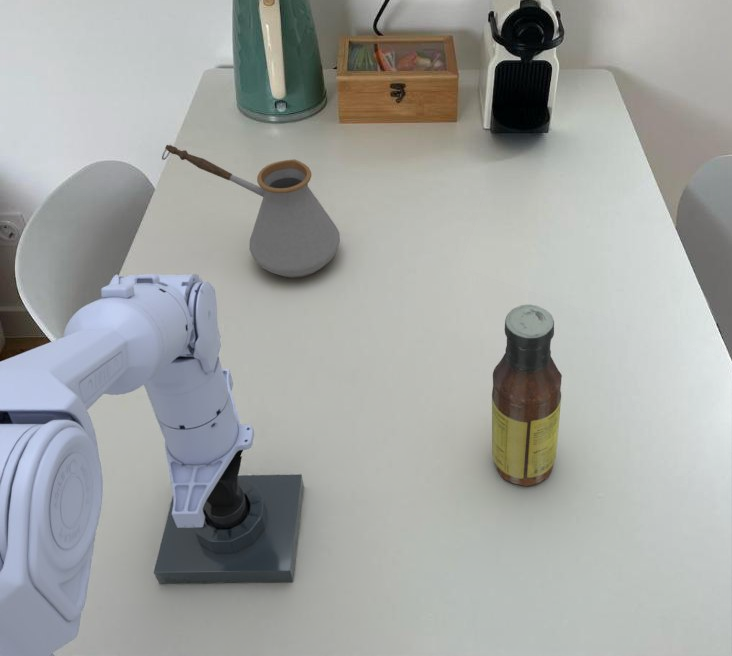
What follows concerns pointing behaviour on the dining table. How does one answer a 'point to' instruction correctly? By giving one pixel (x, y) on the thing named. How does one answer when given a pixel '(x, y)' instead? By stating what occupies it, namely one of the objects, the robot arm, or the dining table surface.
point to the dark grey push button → (228, 512)
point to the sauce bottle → (526, 399)
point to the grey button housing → (238, 539)
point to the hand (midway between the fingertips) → (223, 499)
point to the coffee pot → (283, 217)
